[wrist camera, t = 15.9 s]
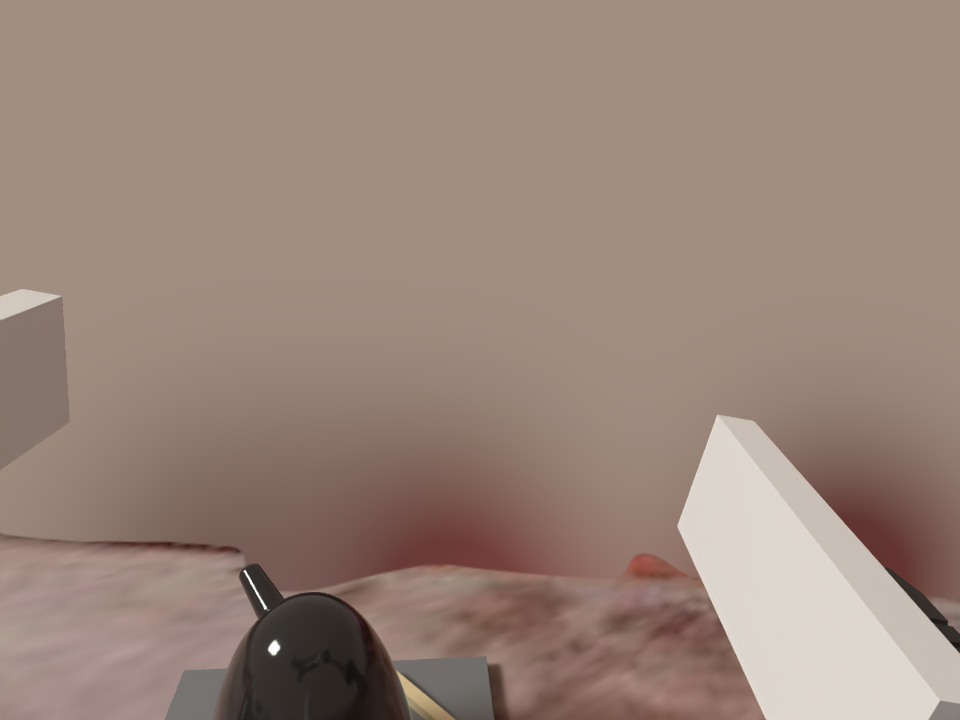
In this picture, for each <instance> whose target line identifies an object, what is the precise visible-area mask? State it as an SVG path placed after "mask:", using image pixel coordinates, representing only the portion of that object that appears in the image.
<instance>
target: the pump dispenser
mask: <svg viewBox="0 0 960 720" xmlns="http://www.w3.org/2000/svg"><path fill="white" fill-rule="evenodd" d="M239 579H240V582H241V584H242V586H243V588H244V590H245V592H246V594H247V597H248V599H249V601H250V603H251V605H252V607H253V609H254V612H255V614H256V616H257V618H258V620H257V621H256V622H255V623H254V624H253V626H252V627H251V628H250V629H249V630H248V632H247V633H246V634H245V636H244V637H243V639H242V640H241V642H240V644H239V645H238V647H237V649H236V651H235V653H234V655H233V657H232V659H231V662H230V664H229V666H228V669H227V671H226V674H225V677H224V680H223V682H222V686H221V689H220V692H219V696H218V699H217V703H216V707H215V711H214V715H213V719H212V720H412V716H411V712H410V708H409V704H408V701H407V698H406V695H405V692H404V689H403V687H402V684H401V681H400V679H399V676H398V674H397V672H396V669H395V667H394V665H393V663H392V660H391V658H390V656H389V654H388V652H387V650H386V648H385V646H384V644H383V643H382V641H381V639H380V638H379V636H378V635H377V633H376V632H375V630H374V629H373V627H372V626H371V625H370V624H369V622H368V621H367V620H366V619H365V618H364V617H363V616H362V615H361V614H360V613H359V612H358V611H357V610H356V609H355V608H354V607H352V606H351V605H350V604H348V603H347V602H345V601H344V600H342V599H340V598H338V597H336V596H334V595H331V594H327V593H323V592H305V593H300V594H296V595H293V596H290V597H287V598H285V599H284V598H283V596H282V595H281V594H280V592H279V591H278V590H277V588H276V587H275V585H274V584H273V583H272V581H271V580H270V579H269V577H268V576H267V575H266V573H265V572H264V571H263V569H262V568H261V567H260V566H259V565H258V564H250V565H248V566H246V567H245V568H243V569H242V571H241V572H240V574H239Z"/></svg>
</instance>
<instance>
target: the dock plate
mask: <svg viewBox="0 0 960 720" xmlns="http://www.w3.org/2000/svg"><path fill="white" fill-rule="evenodd" d="M392 663H393V665H394V667H395V669H396V672H397V674H398V676H399V679H400V681H401V684H402V687H403V689H404V692H405V695H406V698H407V701H408V704H409V708H410V712H411V716H412V720H494V714H493V706H492V698H491V691H490V683H489V675H488V667H487V659H486V656H485V657H464V658H442V659H421V660H400V661H392ZM226 671H227V669H209V670H188V671H184V672H183V675H182V677H181V680H180V682H179V685H178V687H177V690H176V693H175V695H174V698H173V700H172V703H171V705H170V708H169V710H168V713H167V715H166V718H165V720H212V719H213V715H214V711H215V707H216V703H217V699H218V696H219V692H220V689H221V686H222V682H223V680H224V677H225V674H226Z"/></svg>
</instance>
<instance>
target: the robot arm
mask: <svg viewBox="0 0 960 720" xmlns="http://www.w3.org/2000/svg"><path fill="white" fill-rule="evenodd" d="M69 422H70V419H69V401H68V384H67V368H66V351H65V334H64V319H63V302H62V296H58V295H53V294H47V293H41V292H36V291H30V290H25V289H20V290H17V291H14V292H12V293H9V294H6V295H3V296H0V470H1V469H2V468H4V467H5V466H7V465H8V464H10V463H11V462H13V461H14V460H15V459H17V458H18V457H19V456H21V455H23V454H24V453H25V452H27V451H28V450H30V449H31V448H33V447H34V446H36V445H37V444H39V443H40V442H41V441H43V440H44V439H46V438H47V437H49V436H50V435H52V434H53V433H55V432H56V431H57V430H59V429H60V428H62V427H63V426H65V425H66V424H68V423H69ZM677 527H678V529H679V531H680V533H681V536H682V538H683V540H684V542H685V544H686V546H687V549H688V551H689V553H690V555H691V557H692V559H693V562H694V564H695V566H696V568H697V570H698V572H699V575H700V577H701V579H702V581H703V583H704V586H705V588H706V590H707V592H708V594H709V597H710V599H711V601H712V603H713V605H714V607H715V610H716V612H717V614H718V616H719V618H720V620H721V623H722V625H723V627H724V629H725V631H726V634H727V636H728V638H729V640H730V642H731V644H732V647H733V649H734V651H735V653H736V655H737V658H738V660H739V662H740V664H741V666H742V668H743V671H744V673H745V675H746V677H747V679H748V681H749V684H750V686H751V688H752V690H753V692H754V695H755V697H756V699H757V701H758V703H759V705H760V708H761V710H762V712H763V714H764V716H765V718H766V720H960V634H959V633H958V632H957V631H956V630H955V628H954V627H951V626H948V624H947V623H948V621H947V620H946V619H945V618H944V616H943V615H942V614H941V613H940V612H939V611H938V610H937V609H936V608H935V607H934V606H933V605H932V603H931V602H930V601H929V600H928V599H927V598H926V597H925V596H924V595H923V594H922V593H921V592H920V591H918V590H917V589H915V588H914V587H913V586H912V585H910V584H909V583H908V582H906V581H905V580H904V579H902V578H901V577H900V576H898V575H897V574H896V573H894V572H893V571H892V570H890V569H889V568H885V567H883V566H882V565H881V564H880V563H879V562H878V561H877V560H876V559H875V557H874V556H873V555H872V554H871V553H870V552H869V551H868V550H867V548H866V547H865V546H864V545H863V544H862V543H861V542H860V540H859V539H858V538H857V537H856V536H855V535H854V534H853V533H852V531H851V530H850V529H849V528H848V527H847V526H846V525H845V524H844V523H843V521H842V520H841V519H840V518H839V517H838V516H837V515H836V513H835V512H834V511H833V510H832V509H831V508H830V507H829V506H828V504H827V503H826V502H825V501H824V500H823V499H822V498H821V497H820V495H819V494H818V493H817V492H816V491H815V490H814V489H813V487H812V486H811V485H810V484H809V483H808V482H807V481H806V480H805V478H804V477H803V476H802V475H801V474H800V473H799V472H798V470H797V469H796V468H795V467H794V466H793V465H792V464H791V463H790V461H789V460H788V459H787V458H786V457H785V456H784V455H783V454H782V452H781V451H780V450H779V449H778V448H777V447H776V446H775V445H774V443H773V442H772V441H771V440H770V439H769V438H768V437H767V435H765V433H764V432H763V431H762V430H761V429H760V428H759V427H758V425H757V424H756V423H755V422H754V421H750V420H744V419H739V418H733V417H728V416H721V415H717V418H716V420H715V423H714V426H713V429H712V432H711V434H710V437H709V440H708V443H707V446H706V448H705V451H704V454H703V457H702V459H701V462H700V465H699V468H698V471H697V473H696V476H695V479H694V481H693V484H692V488H691V490H690V493H689V496H688V498H687V501H686V504H685V507H684V509H683V512H682V515H681V518H680V520H679V523H678V526H677Z"/></svg>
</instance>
